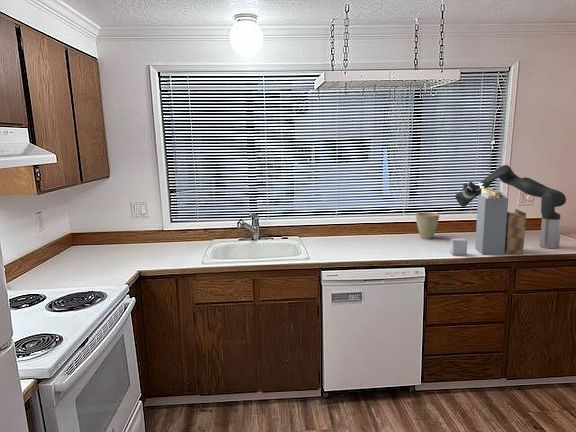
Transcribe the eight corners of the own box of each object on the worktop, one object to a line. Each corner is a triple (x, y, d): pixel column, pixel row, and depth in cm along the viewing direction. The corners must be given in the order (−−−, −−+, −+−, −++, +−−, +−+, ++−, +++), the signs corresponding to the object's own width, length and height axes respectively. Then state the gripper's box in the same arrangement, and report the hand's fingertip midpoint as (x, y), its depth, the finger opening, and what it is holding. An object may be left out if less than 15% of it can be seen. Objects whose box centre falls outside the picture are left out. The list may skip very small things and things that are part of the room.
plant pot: (443, 239, 281) (444, 215, 278) (422, 241, 278) (423, 216, 275) (430, 234, 295) (431, 211, 292) (410, 236, 292) (411, 212, 289)
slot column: (496, 249, 254) (500, 192, 248) (504, 254, 243) (508, 195, 237) (475, 248, 256) (478, 192, 250) (482, 254, 244) (485, 195, 238)
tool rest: (513, 248, 255) (516, 209, 251) (522, 254, 243) (526, 213, 238) (497, 248, 256) (500, 209, 252) (506, 254, 244) (509, 213, 239)
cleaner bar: (487, 193, 257) (487, 187, 256) (504, 199, 232) (504, 193, 231) (481, 193, 257) (481, 187, 257) (497, 199, 232) (498, 193, 231)
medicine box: (463, 253, 248) (464, 238, 246) (466, 255, 243) (467, 240, 242) (449, 253, 248) (450, 238, 246) (452, 255, 243) (453, 240, 242)
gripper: (458, 185, 287) (466, 177, 272) (480, 185, 286) (490, 177, 271) (459, 196, 285) (467, 188, 270) (481, 196, 284) (491, 188, 269)
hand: (478, 182), depth 270 cm, fingers open, 8 cm apart
